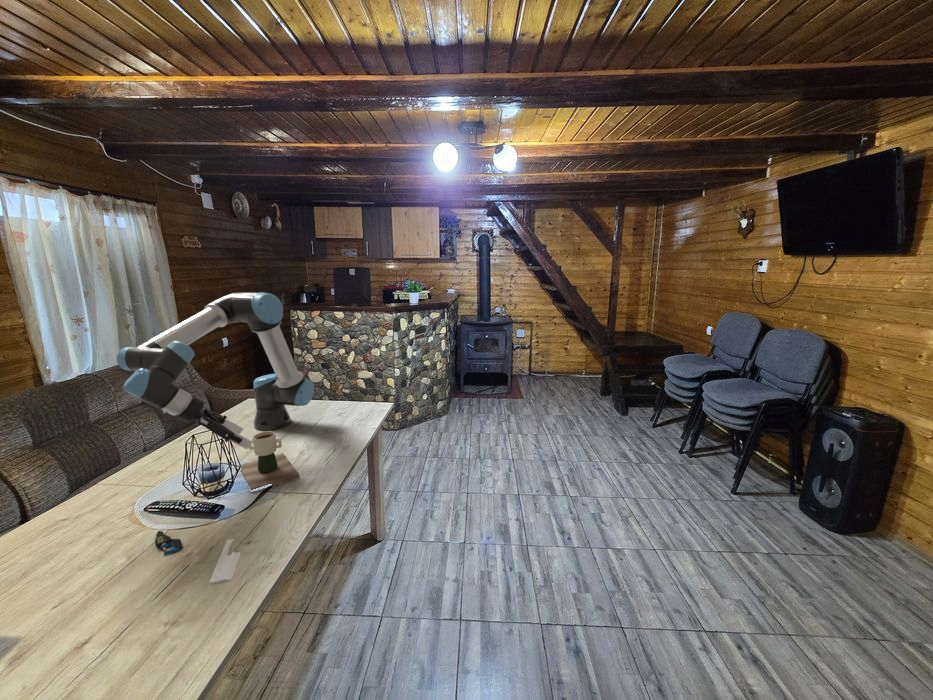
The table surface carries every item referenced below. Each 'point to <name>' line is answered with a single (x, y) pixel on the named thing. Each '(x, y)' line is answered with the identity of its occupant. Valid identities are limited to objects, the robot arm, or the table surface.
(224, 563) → the butcher knife
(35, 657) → the table surface
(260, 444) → the character mug
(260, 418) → the robot arm
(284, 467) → the walnut board
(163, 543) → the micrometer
